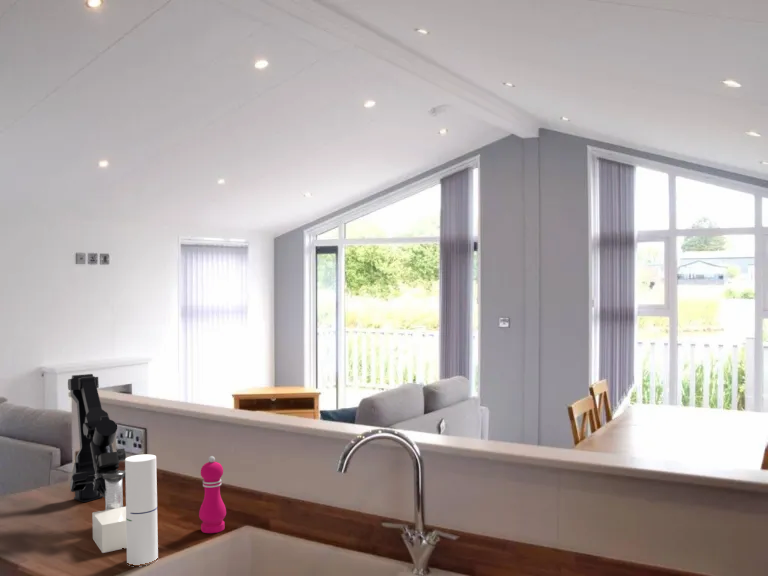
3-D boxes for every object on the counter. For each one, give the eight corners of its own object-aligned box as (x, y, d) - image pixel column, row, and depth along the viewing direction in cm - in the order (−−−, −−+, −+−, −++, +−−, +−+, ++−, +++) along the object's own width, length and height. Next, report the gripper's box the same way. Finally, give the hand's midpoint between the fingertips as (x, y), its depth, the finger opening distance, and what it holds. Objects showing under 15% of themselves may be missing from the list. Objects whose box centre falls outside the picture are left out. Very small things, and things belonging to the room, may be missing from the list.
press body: (92, 538, 186) (92, 512, 186) (139, 529, 192) (139, 504, 192) (102, 553, 176) (102, 525, 176) (151, 542, 182) (150, 515, 182)
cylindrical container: (148, 567, 166) (146, 462, 166) (120, 565, 168) (119, 461, 168) (163, 555, 173) (161, 454, 173) (137, 554, 175) (135, 453, 175)
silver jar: (101, 529, 192) (100, 472, 192) (122, 525, 195) (121, 469, 195) (113, 546, 179) (112, 485, 179) (136, 541, 182) (135, 481, 182)
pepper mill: (222, 534, 188) (221, 459, 188) (195, 534, 188) (194, 459, 188) (229, 524, 195) (228, 453, 195) (203, 525, 195) (202, 453, 195)
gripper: (71, 444, 192) (79, 495, 183) (141, 435, 202) (152, 483, 193) (66, 466, 199) (74, 516, 190) (134, 456, 209) (145, 503, 200)
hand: (112, 504), depth 193 cm, fingers closed, pressing on silver jar
